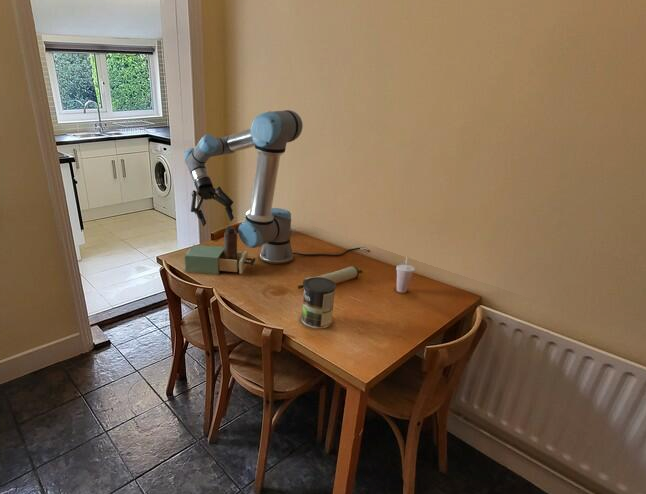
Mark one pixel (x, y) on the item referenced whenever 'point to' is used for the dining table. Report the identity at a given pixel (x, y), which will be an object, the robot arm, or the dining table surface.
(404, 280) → the smoothie
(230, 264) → the drawer
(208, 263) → the cabinet
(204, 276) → the dining table surface
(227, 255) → the pepper mill
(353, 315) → the dining table surface
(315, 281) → the coffee can
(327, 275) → the rolling pin
